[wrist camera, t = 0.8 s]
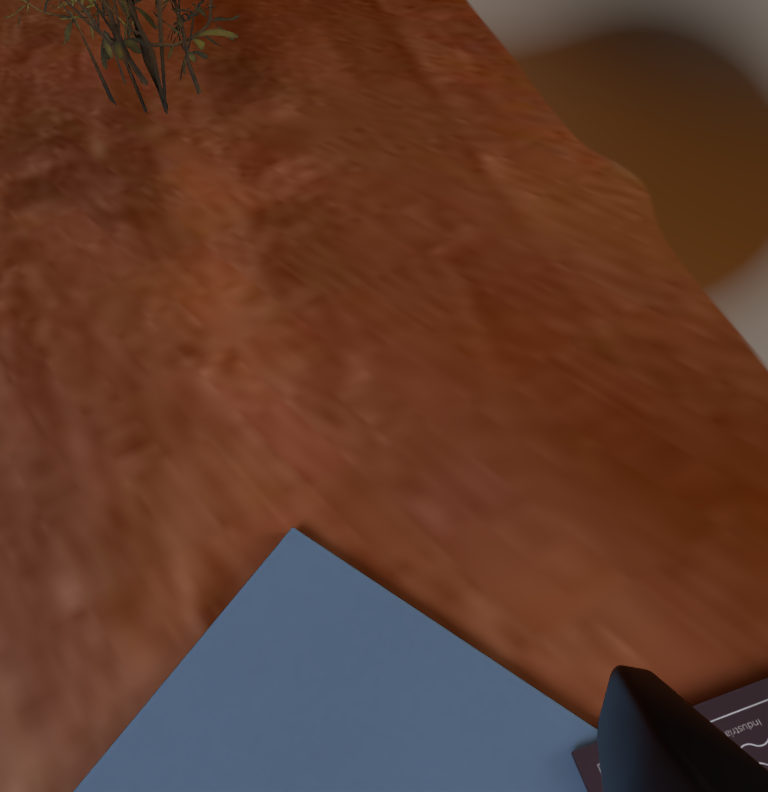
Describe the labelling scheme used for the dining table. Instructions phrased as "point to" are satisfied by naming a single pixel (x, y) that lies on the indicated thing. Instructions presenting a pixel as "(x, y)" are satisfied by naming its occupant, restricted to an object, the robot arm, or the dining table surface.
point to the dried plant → (140, 39)
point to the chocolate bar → (731, 713)
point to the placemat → (339, 700)
